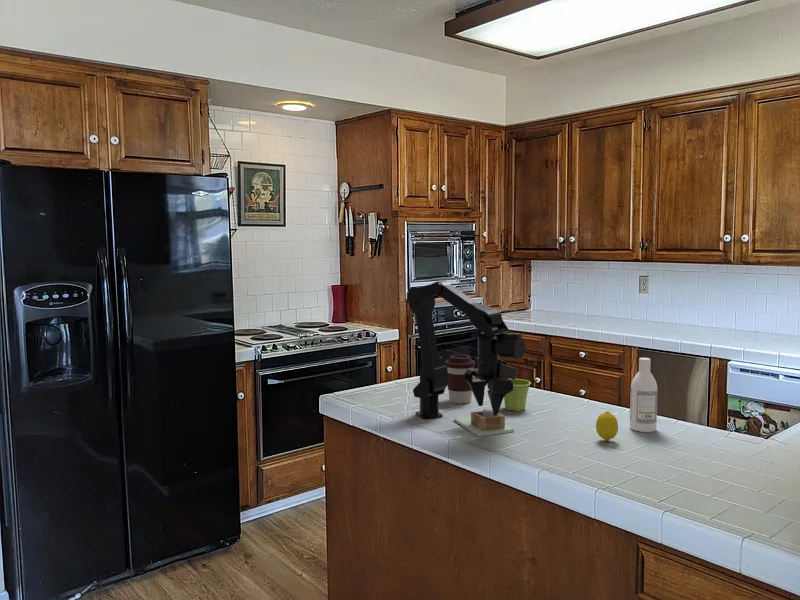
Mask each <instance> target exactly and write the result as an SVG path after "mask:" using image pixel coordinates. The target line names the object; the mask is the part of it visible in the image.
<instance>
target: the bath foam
mask: <svg viewBox="0 0 800 600" xmlns="http://www.w3.org/2000/svg"><path fill="white" fill-rule="evenodd" d="M651 362H652V361H651V358H650V357H639V359H638V371H637V373H636V374H635V375H634V377H633V378H632V381H631V384H630V400H629V402H630V404H629V406H630V407H629V428H630V429H631V430H632V431H634V430H635V431H636V432H638V431H639V432H638V433H653V431H654V432H655V431H657V420H658V419H657V417H658V416H657V415H658V393H659V391H658V385H657V381H656V379H655V377H654V376H653V373H652V372H651ZM635 431H634V432H635Z"/></svg>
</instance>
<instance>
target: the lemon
mask: <svg viewBox="0 0 800 600" xmlns="http://www.w3.org/2000/svg"><path fill="white" fill-rule="evenodd" d="M595 429H596V433H597V435H598V436H599V438H601V439H603V440H604V441H605V442H608V441H610V440H612V439H614V438H615V437H616V436H617V434H618V431H619V423H618V419H617V417H616V416H615V415H614V414H613V413H611V412H610V411H607V410H606V411H605V412H602V413H601V414H599V415H598V417H597V418H596V424H595Z"/></svg>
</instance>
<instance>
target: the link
mask: <svg viewBox="0 0 800 600" xmlns="http://www.w3.org/2000/svg"><path fill="white" fill-rule="evenodd" d="M470 416H471V425H473V426H475V427H476V428H478V429H480V430H481V431H487V430H495V429H504V428H505V424H506V416H505V415H504V414H502V413H500V412H498V414H494V412H493V416H489V417H483V410H480V411H479V410H478V411H471V412H470Z"/></svg>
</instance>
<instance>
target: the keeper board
mask: <svg viewBox="0 0 800 600" xmlns="http://www.w3.org/2000/svg"><path fill="white" fill-rule="evenodd" d="M482 411H483V417H489V416H493V409H488V408H486V409H482ZM453 422H455V423H456V422H457V423H456V424H458V425H459V424H460V425H459V426H461V427H463V428H464V427H465V428H464V429H466V430H467V429H468V430H467V431H469V432H470V431H471V432H470V433H472V434H474V435H475V436H477V437H482V436H484V437H485V436H491V435H492V436H493V435H499V434H500V433H501V434H508V433H515V432H514V431H515V429H514V428H513V427H511V426H509V425H508V424H506V423H505V428H504V429H495V430H487V431H481V430H480V429H478V428H476V427H475V426H473V425H471V415H469V416H461V417H454V418H453Z"/></svg>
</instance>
